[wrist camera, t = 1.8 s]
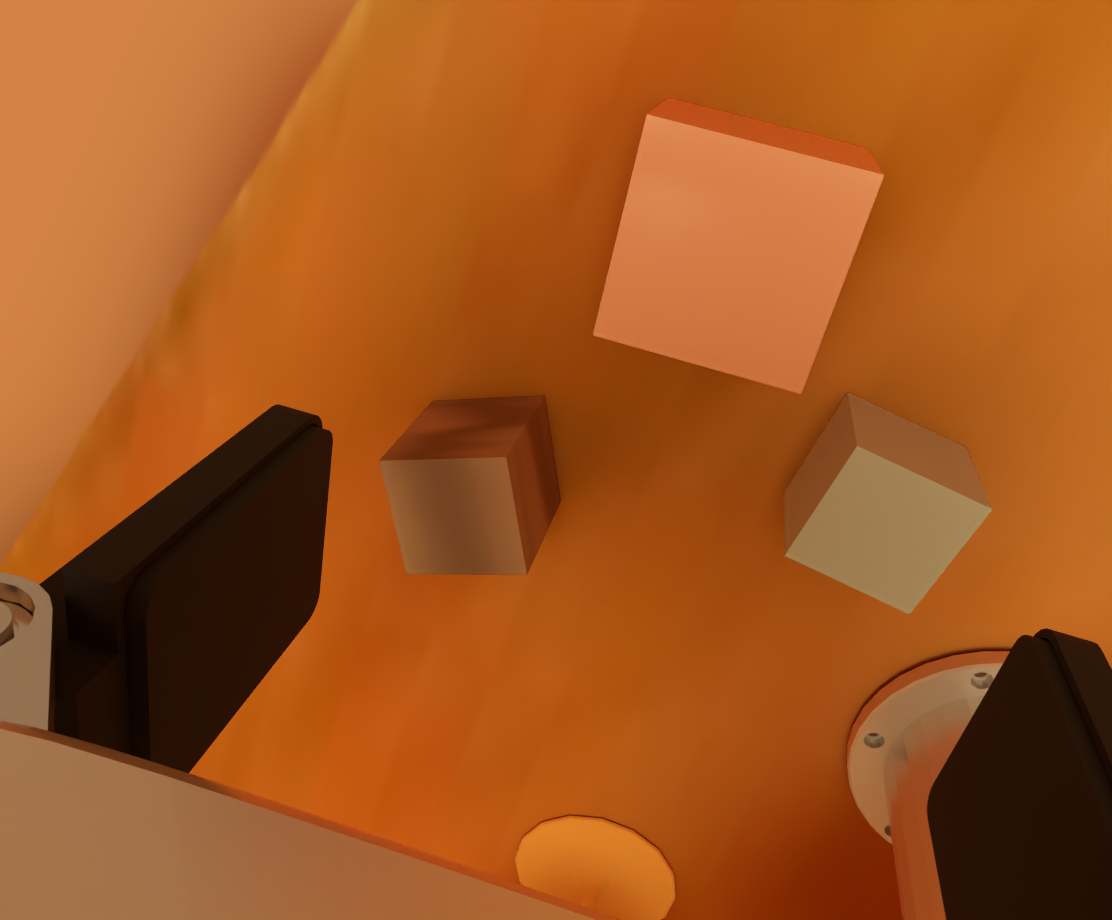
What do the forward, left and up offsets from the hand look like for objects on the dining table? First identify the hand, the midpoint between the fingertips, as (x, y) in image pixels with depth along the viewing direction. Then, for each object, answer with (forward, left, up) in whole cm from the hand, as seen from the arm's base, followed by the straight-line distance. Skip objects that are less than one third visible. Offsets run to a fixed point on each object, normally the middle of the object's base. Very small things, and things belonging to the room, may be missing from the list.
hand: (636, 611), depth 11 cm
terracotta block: (0, 0, -24) cm, 24 cm away
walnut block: (+7, +12, -24) cm, 28 cm away
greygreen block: (-8, +8, -24) cm, 27 cm away
